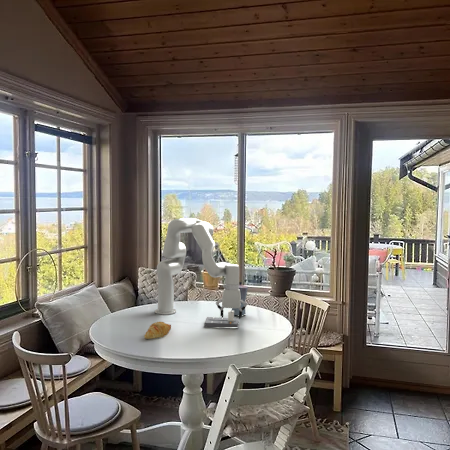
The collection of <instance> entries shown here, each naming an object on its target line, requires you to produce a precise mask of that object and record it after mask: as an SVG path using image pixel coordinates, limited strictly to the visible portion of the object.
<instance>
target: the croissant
mask: <svg viewBox="0 0 450 450" xmlns="http://www.w3.org/2000/svg"><path fill="white" fill-rule="evenodd" d="M171 329H172V324H169V323H165V322H164V321H156V322H153V323H151V325H149V327H148V329H147V331H146V332H145V334H143V335H144V336H143V338H144V339H145V340H152V339H161V338H164V337H166V336H167V335H168V334H169V332H170V331H171Z"/></svg>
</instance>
